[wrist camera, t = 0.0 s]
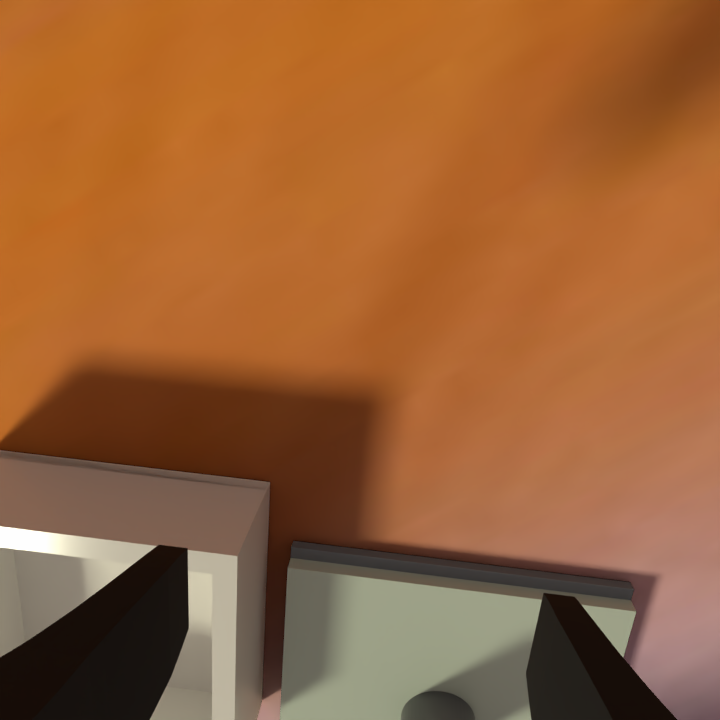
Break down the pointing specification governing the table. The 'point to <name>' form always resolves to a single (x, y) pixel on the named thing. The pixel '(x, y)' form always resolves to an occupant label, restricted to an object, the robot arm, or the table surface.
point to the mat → (462, 570)
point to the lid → (414, 644)
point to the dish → (125, 547)
